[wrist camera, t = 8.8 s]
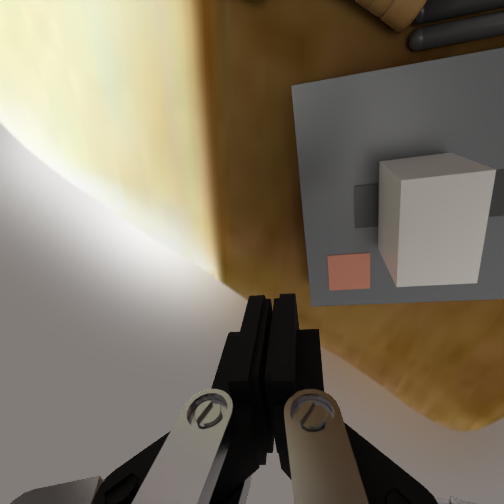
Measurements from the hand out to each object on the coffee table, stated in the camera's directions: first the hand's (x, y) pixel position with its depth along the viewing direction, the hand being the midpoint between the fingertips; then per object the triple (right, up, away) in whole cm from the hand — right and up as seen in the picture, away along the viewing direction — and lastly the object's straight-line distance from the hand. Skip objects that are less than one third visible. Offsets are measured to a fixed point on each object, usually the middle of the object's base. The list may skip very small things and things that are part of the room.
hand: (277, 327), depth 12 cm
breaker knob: (+9, +6, +9) cm, 14 cm away
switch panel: (+16, +10, +11) cm, 21 cm away
